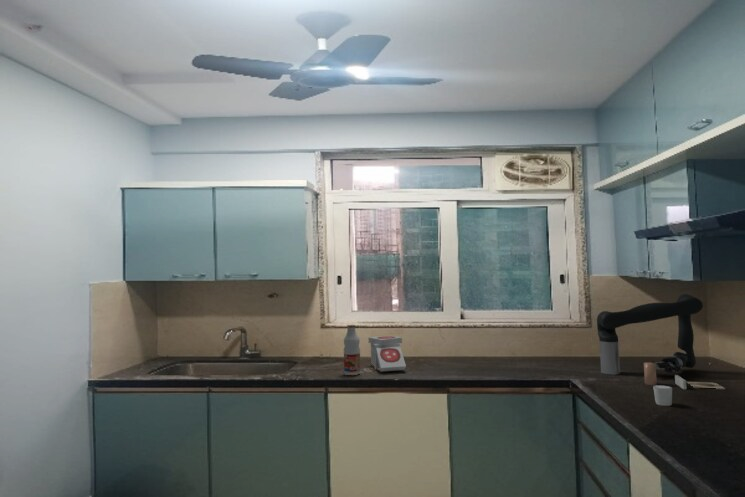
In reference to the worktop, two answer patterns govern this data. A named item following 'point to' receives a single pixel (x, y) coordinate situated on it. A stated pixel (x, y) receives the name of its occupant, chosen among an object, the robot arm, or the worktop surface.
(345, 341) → the fruit juice
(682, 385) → the wall
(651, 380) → the cylinder
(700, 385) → the pad
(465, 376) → the worktop surface
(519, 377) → the worktop surface
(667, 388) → the shot glass
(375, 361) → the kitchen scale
